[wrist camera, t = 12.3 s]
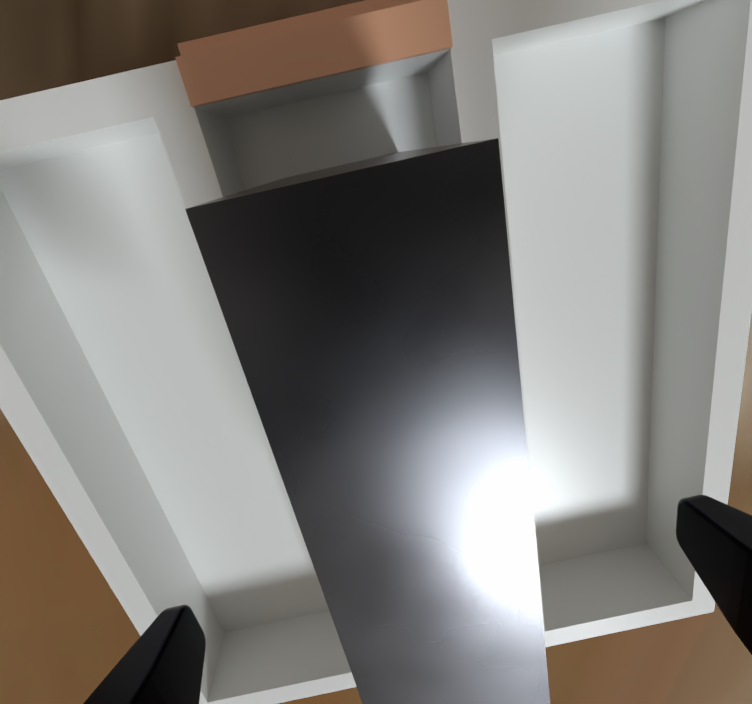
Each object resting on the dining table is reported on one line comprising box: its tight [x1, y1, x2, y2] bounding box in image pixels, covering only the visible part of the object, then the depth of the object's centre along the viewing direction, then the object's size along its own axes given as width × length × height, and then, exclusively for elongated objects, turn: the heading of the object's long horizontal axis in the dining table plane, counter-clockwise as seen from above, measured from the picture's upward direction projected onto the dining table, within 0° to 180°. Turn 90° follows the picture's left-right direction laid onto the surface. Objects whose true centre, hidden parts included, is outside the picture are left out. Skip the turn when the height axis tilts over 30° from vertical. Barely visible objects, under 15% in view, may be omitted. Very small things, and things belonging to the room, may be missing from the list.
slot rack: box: [0, 0, 752, 704], centre depth 13 cm, size 18×19×3 cm
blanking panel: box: [185, 138, 550, 704], centre depth 11 cm, size 3×14×8 cm, turn 12°
